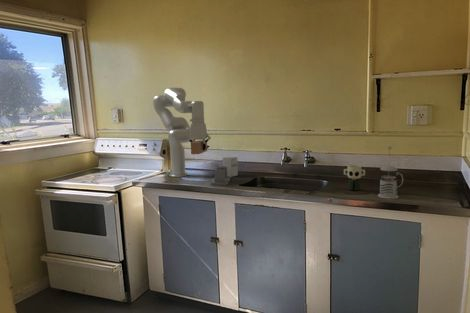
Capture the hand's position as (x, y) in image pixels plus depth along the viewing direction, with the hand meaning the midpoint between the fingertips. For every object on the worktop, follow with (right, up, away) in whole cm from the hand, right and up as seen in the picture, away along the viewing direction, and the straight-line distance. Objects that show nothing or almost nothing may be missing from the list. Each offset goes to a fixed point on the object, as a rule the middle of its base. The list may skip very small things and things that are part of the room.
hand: (199, 149), depth 237 cm
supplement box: (+19, -17, +17) cm, 31 cm away
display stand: (+14, -20, -1) cm, 24 cm away
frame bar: (0, -2, 0) cm, 2 cm away
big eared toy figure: (+86, -22, -33) cm, 95 cm away
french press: (+99, -24, -49) cm, 113 cm away
